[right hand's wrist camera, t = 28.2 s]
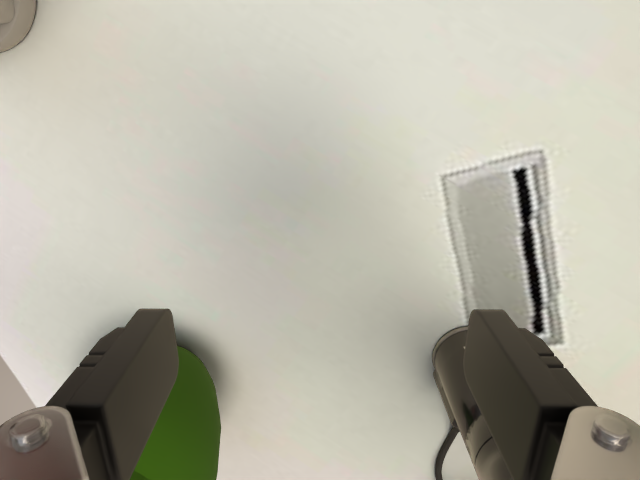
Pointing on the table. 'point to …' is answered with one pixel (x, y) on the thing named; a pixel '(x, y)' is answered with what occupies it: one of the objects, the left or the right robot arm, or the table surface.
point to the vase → (184, 429)
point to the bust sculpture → (15, 21)
